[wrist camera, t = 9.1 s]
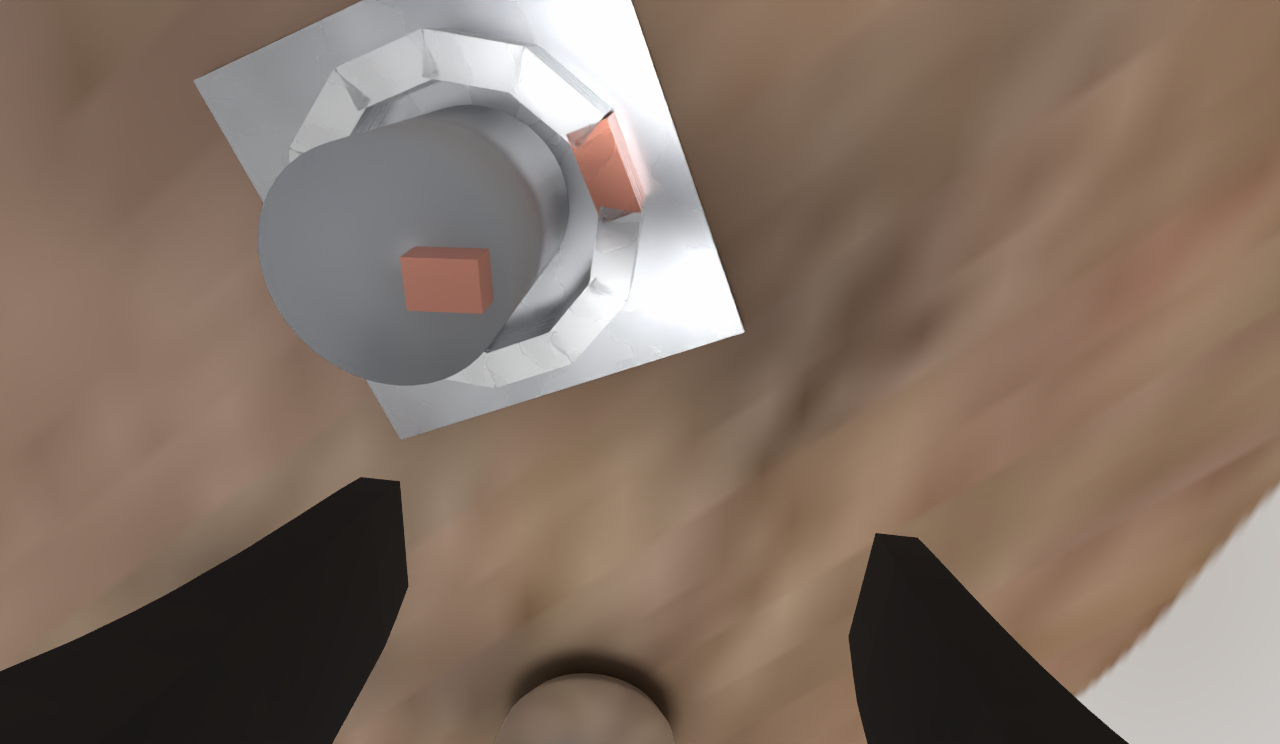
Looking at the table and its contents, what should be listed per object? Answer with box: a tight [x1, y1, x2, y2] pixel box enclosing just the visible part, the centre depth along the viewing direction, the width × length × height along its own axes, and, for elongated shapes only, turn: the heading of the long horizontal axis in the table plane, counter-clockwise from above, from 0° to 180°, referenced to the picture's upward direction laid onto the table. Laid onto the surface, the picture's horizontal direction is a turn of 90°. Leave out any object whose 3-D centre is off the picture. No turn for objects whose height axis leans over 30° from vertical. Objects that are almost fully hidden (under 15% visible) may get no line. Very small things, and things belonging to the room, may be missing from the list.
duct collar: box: [193, 0, 744, 440], centre depth 19 cm, size 11×11×2 cm
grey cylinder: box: [258, 105, 569, 386], centre depth 16 cm, size 5×5×7 cm
